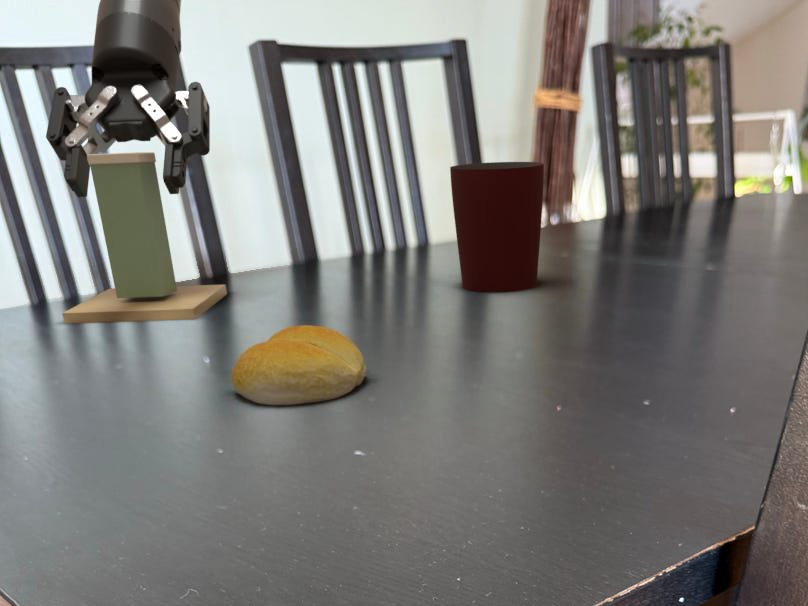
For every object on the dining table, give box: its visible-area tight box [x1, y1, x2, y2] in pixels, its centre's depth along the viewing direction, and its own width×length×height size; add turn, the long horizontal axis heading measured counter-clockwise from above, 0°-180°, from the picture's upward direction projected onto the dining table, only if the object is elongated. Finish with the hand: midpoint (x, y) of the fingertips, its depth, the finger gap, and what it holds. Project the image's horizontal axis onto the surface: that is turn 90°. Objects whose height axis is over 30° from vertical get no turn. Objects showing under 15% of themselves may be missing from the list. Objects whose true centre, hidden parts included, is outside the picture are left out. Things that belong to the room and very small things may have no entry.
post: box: [87, 151, 177, 298], centre depth 87 cm, size 5×5×12 cm
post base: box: [62, 284, 228, 325], centre depth 90 cm, size 12×12×1 cm
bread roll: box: [231, 324, 367, 406], centre depth 63 cm, size 8×9×4 cm
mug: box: [449, 161, 545, 294], centre depth 93 cm, size 12×9×11 cm
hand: (124, 189), depth 85 cm, fingers open, 8 cm apart
